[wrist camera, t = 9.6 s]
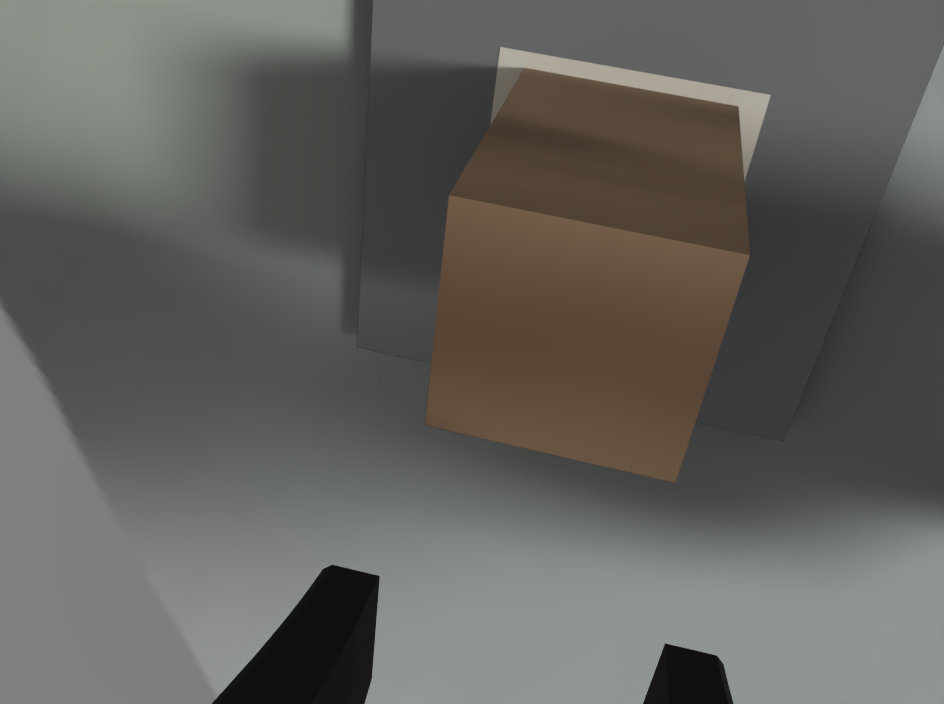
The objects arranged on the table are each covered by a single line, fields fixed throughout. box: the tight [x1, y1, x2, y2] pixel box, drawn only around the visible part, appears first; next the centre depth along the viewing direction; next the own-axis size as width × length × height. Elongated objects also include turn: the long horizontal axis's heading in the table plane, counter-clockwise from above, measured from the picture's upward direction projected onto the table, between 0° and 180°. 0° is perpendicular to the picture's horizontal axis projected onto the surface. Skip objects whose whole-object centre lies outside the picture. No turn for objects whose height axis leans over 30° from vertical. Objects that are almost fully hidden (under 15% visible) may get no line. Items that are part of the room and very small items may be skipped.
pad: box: [357, 0, 944, 442], centre depth 18 cm, size 10×10×1 cm
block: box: [425, 68, 750, 483], centre depth 15 cm, size 4×4×6 cm
